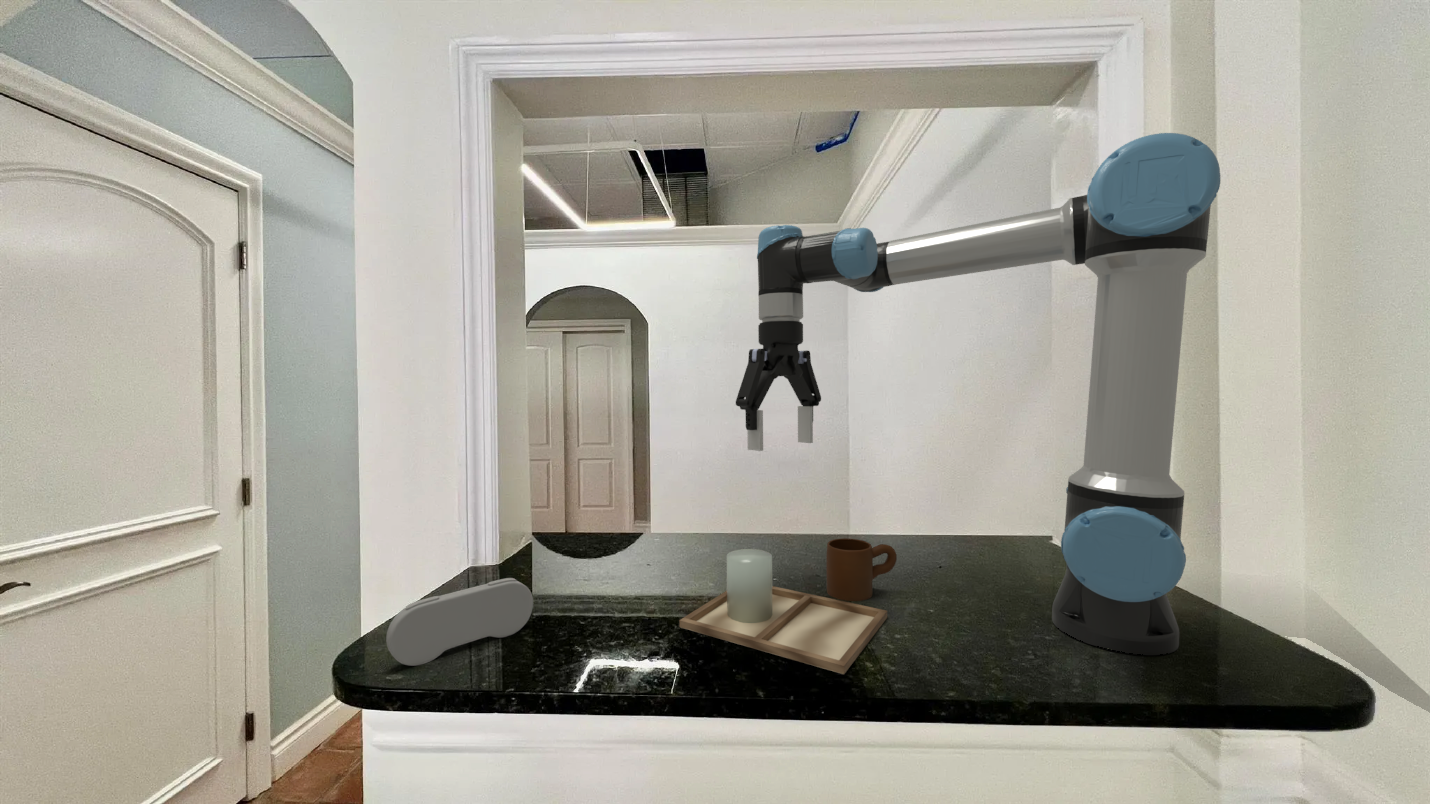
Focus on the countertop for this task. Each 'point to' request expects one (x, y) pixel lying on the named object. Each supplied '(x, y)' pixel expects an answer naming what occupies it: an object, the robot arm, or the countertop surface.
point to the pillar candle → (749, 585)
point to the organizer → (796, 628)
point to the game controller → (458, 620)
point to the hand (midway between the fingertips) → (781, 446)
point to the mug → (855, 568)
